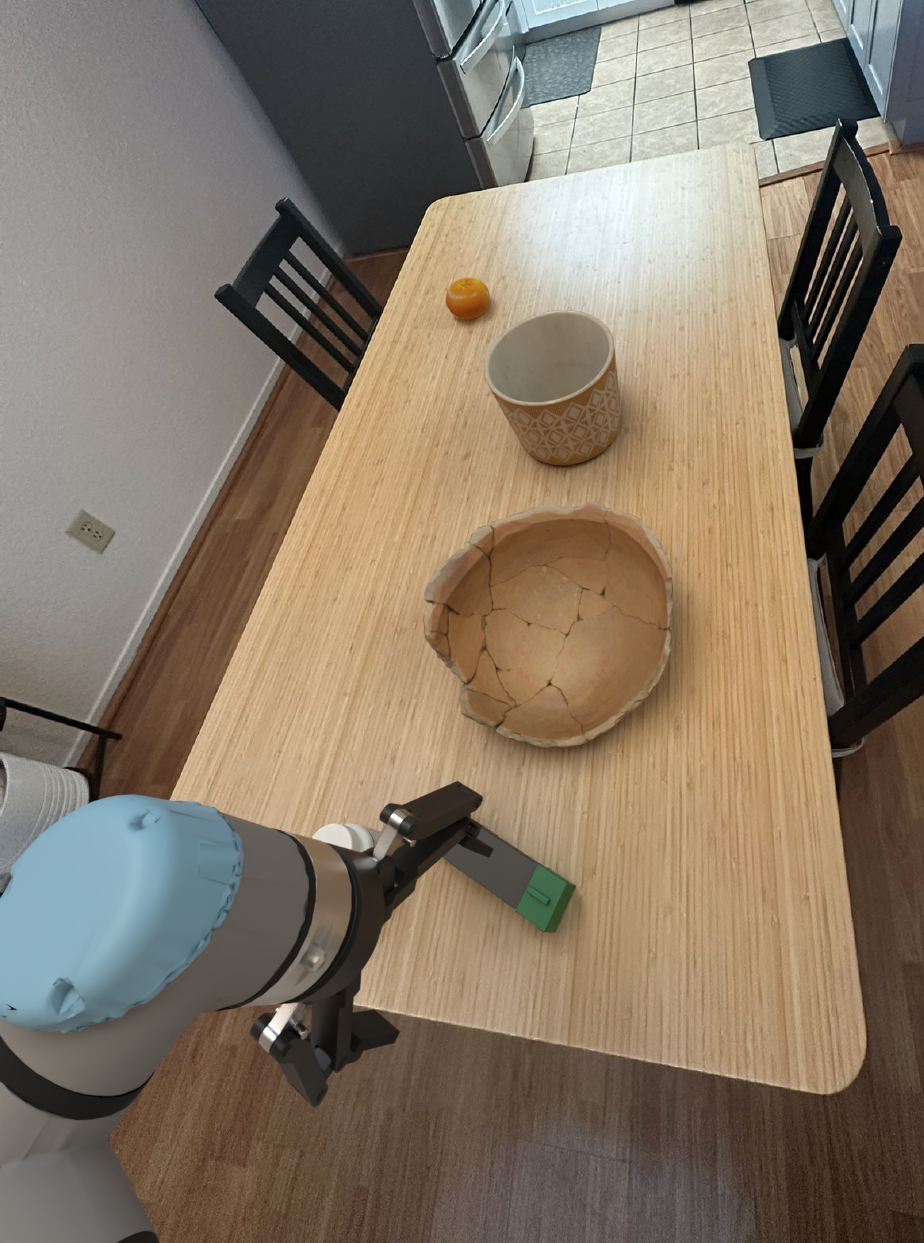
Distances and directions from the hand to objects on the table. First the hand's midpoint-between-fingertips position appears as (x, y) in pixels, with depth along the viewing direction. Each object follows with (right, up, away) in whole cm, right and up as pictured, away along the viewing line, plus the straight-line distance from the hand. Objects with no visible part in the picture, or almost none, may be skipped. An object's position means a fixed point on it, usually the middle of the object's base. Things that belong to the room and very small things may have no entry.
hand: (434, 930), depth 52 cm
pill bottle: (-11, -7, +21) cm, 25 cm away
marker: (+4, -6, +18) cm, 20 cm away
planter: (+11, +45, +53) cm, 71 cm away
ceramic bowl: (+11, +16, +32) cm, 38 cm away
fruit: (-8, +70, +77) cm, 104 cm away
